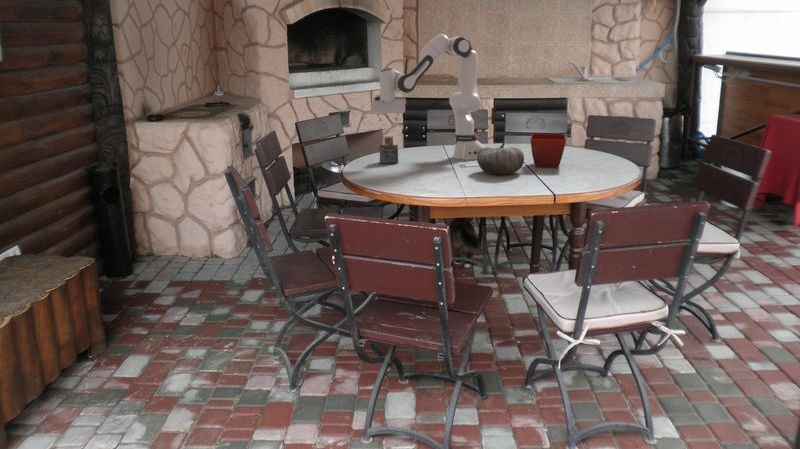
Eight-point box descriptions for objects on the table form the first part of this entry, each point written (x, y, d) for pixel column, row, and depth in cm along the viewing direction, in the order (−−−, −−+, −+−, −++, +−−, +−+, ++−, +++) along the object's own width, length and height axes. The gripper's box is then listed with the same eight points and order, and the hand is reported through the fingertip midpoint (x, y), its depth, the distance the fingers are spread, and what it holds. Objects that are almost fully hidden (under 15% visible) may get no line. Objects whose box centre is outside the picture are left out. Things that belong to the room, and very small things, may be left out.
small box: (398, 161, 414) (398, 144, 411) (397, 164, 407) (397, 146, 404) (381, 161, 415) (380, 144, 412) (379, 164, 408) (379, 146, 406)
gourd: (507, 175, 359) (505, 141, 357) (468, 177, 375) (466, 145, 374) (532, 172, 377) (530, 140, 376) (494, 174, 394) (492, 143, 392)
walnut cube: (393, 144, 410) (392, 136, 409) (393, 146, 406) (392, 137, 404) (384, 144, 410) (384, 136, 409) (384, 146, 406) (384, 137, 404)
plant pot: (564, 169, 384) (565, 139, 380) (529, 168, 388) (530, 138, 383) (563, 162, 402) (565, 133, 398) (530, 162, 406) (531, 133, 401)
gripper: (405, 96, 403) (406, 119, 407) (370, 96, 403) (371, 120, 407) (405, 97, 397) (406, 121, 401) (370, 98, 397) (370, 122, 401)
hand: (388, 121), depth 404 cm, fingers open, 8 cm apart
